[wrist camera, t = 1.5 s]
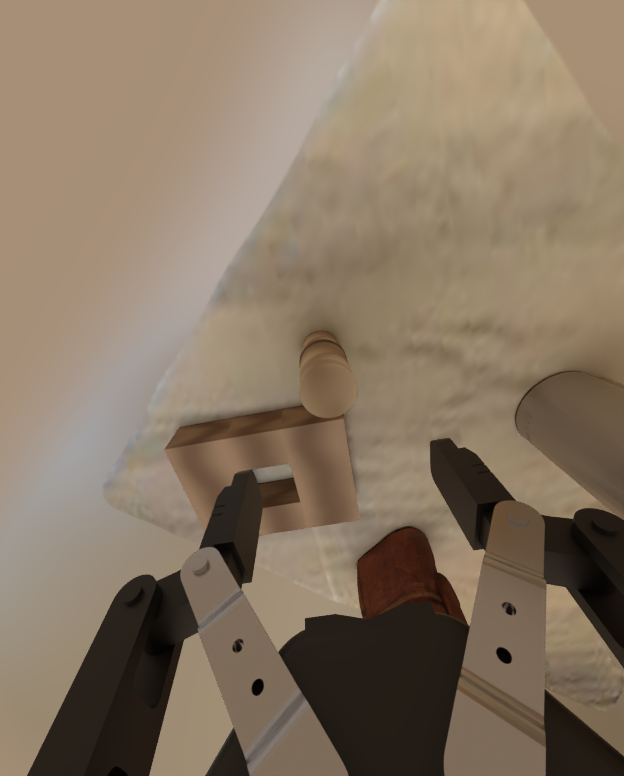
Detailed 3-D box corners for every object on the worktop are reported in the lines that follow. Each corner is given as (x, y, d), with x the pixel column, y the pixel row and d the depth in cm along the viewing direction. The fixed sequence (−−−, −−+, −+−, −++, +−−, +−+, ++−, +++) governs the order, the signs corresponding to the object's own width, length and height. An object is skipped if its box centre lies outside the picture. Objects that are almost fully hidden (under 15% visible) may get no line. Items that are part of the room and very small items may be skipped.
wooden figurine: (379, 578, 45) (422, 762, 29) (348, 562, 43) (375, 749, 27) (436, 535, 41) (522, 720, 25) (405, 517, 40) (476, 702, 23)
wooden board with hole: (338, 399, 32) (343, 418, 28) (354, 493, 38) (359, 519, 34) (179, 427, 32) (164, 449, 29) (219, 515, 38) (210, 542, 35)
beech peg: (337, 324, 28) (354, 360, 19) (343, 363, 30) (361, 413, 21) (296, 332, 28) (293, 371, 19) (304, 371, 30) (305, 423, 21)
